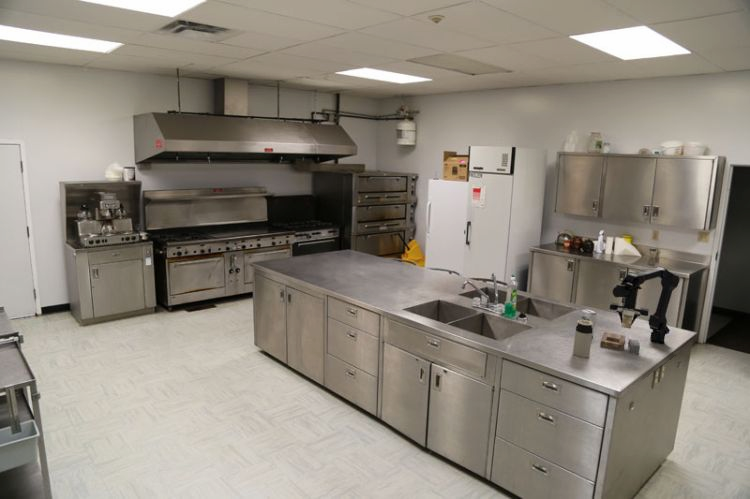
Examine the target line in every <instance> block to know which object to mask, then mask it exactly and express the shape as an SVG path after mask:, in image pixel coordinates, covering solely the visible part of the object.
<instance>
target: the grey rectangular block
mask: <svg viewBox="0 0 750 499" xmlns="http://www.w3.org/2000/svg"><path fill="white" fill-rule="evenodd" d="M640 348H641V345H640V343H639V340H638V339H630V338H628V343H627V349H628V350H627V351H628V354H632V355H637V356H639V355H640Z"/></svg>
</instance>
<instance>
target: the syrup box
mask: <svg viewBox="0 0 750 499" xmlns="http://www.w3.org/2000/svg"><path fill="white" fill-rule="evenodd" d="M596 317H597V312H595V311H593V310H590V309H582V310H581V316H580V320H588V321H591V322H592V323H593V325H592V329H593V332H592V337H594V333H595V325H596Z"/></svg>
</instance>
